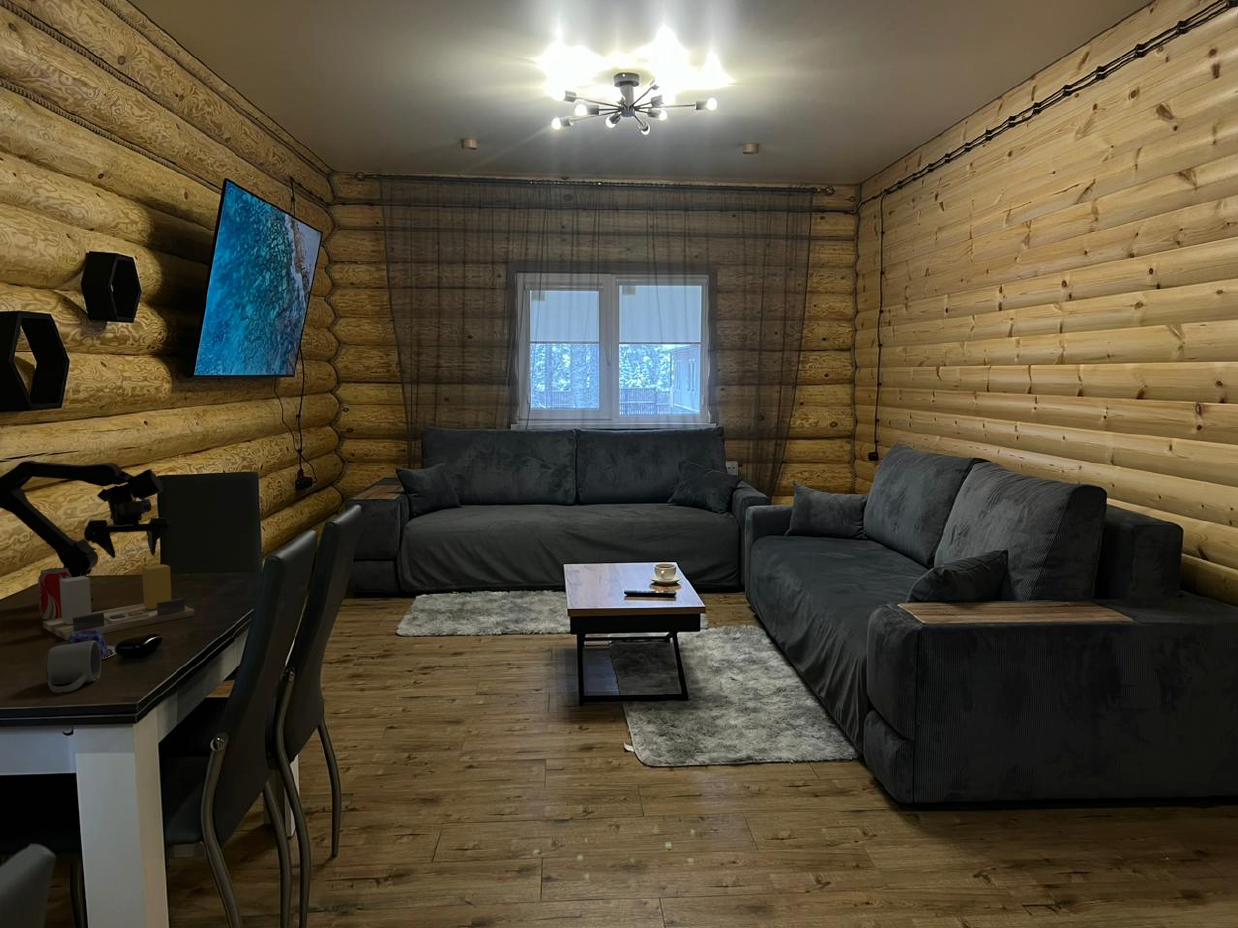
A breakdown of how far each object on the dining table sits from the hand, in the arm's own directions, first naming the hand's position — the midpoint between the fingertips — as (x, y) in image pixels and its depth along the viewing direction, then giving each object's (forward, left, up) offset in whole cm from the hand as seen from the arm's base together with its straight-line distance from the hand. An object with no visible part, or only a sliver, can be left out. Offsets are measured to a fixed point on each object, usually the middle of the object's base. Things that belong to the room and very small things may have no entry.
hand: (134, 555), depth 222 cm
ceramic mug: (+53, -31, -14) cm, 63 cm away
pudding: (+36, -23, -14) cm, 45 cm away
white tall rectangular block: (+11, -17, -12) cm, 23 cm away
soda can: (-3, -17, -13) cm, 22 cm away
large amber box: (+11, +1, -12) cm, 16 cm away
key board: (+12, -8, -13) cm, 20 cm away
